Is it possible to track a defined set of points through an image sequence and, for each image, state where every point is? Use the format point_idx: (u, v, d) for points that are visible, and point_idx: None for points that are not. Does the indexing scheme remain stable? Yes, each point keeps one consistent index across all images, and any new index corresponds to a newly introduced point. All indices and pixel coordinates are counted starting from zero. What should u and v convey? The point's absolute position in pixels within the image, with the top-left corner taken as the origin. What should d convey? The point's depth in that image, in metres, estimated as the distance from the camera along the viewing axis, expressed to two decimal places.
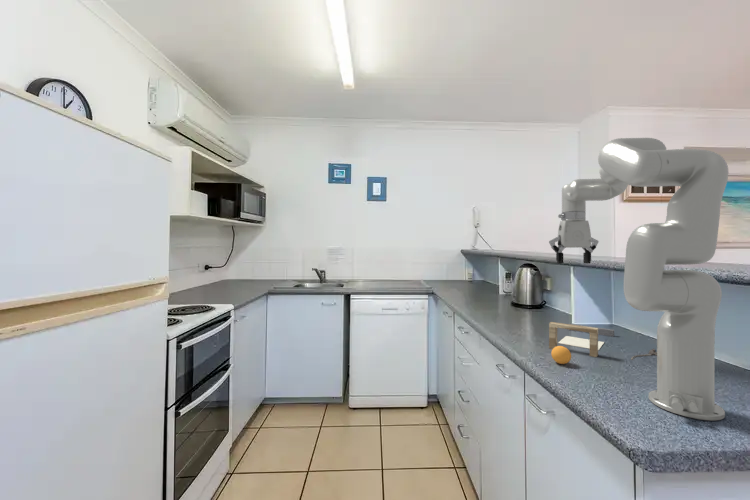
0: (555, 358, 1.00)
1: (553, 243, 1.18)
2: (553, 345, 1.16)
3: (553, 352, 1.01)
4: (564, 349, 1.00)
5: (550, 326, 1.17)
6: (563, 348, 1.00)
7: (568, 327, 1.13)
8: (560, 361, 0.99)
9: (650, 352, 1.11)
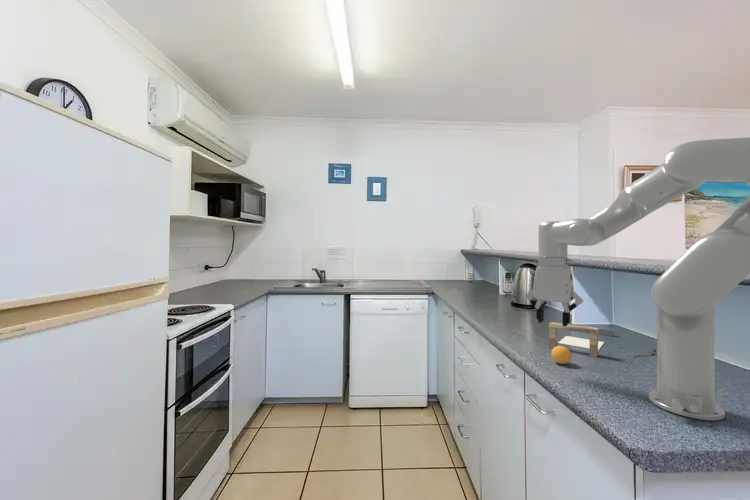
0: (555, 358, 1.00)
1: None
2: (553, 345, 1.16)
3: (553, 352, 1.01)
4: (564, 349, 1.00)
5: (550, 326, 1.17)
6: (563, 348, 1.00)
7: (568, 327, 1.13)
8: (560, 361, 0.99)
9: (650, 352, 1.11)
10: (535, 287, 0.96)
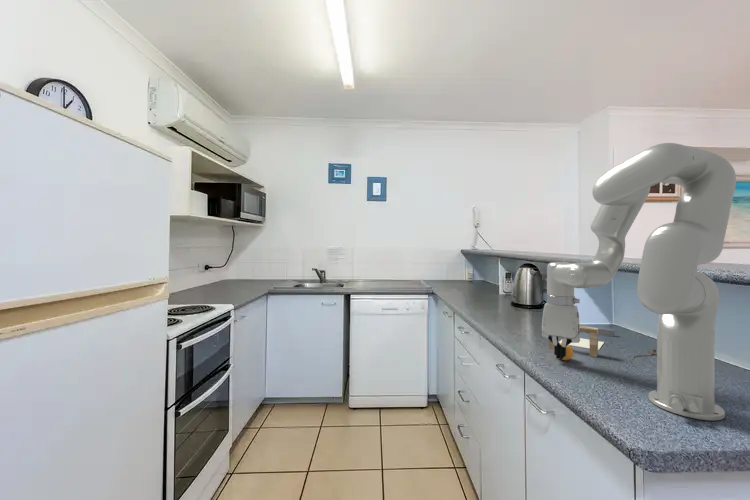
0: None
1: None
2: (553, 345, 1.16)
3: None
4: None
5: None
6: None
7: None
8: None
9: (650, 352, 1.11)
10: (544, 323, 1.03)
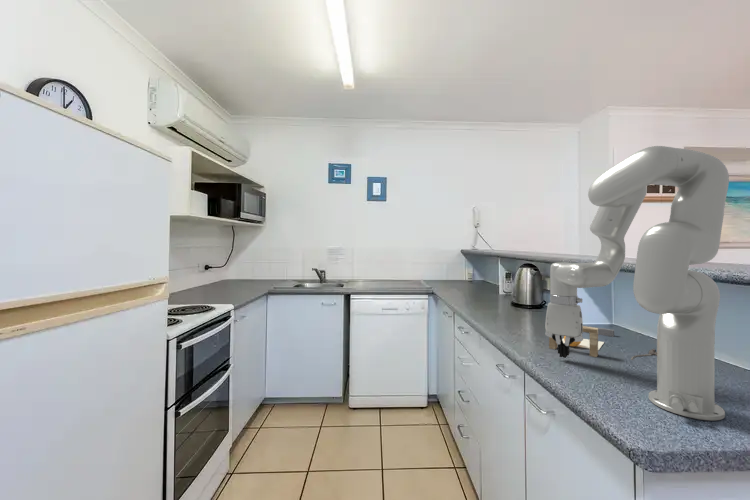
0: None
1: None
2: (553, 345, 1.16)
3: None
4: None
5: None
6: None
7: None
8: None
9: (650, 352, 1.11)
10: (547, 322, 1.05)
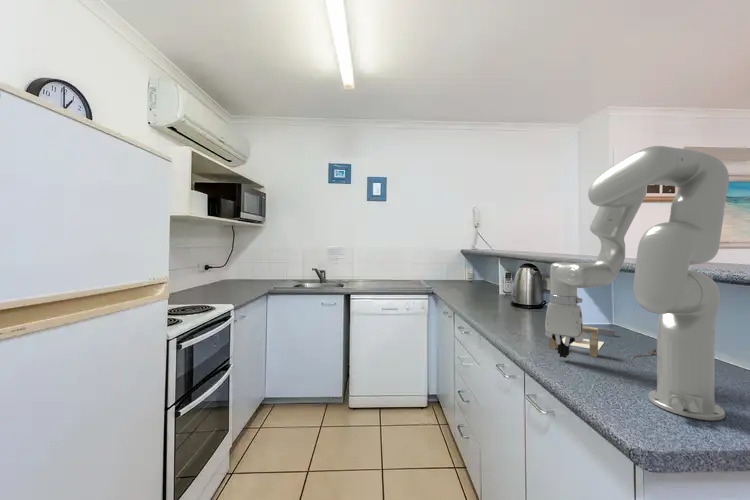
0: None
1: None
2: (553, 345, 1.16)
3: None
4: None
5: None
6: None
7: None
8: None
9: (650, 352, 1.11)
10: (547, 322, 1.05)
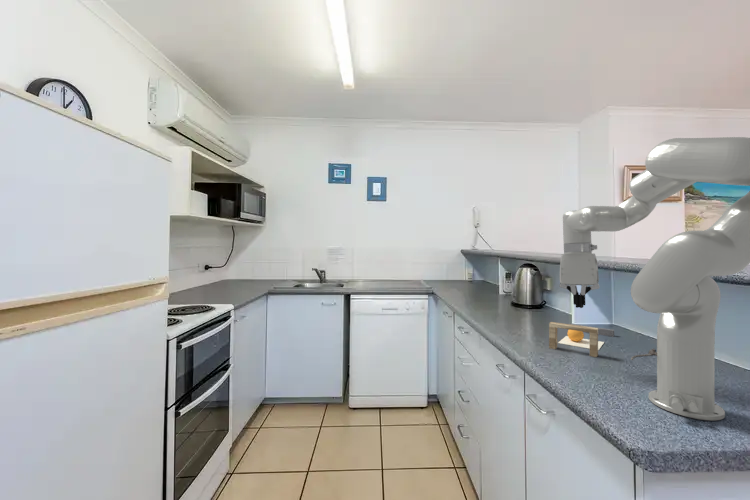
0: None
1: None
2: (553, 345, 1.16)
3: (569, 338, 1.26)
4: (577, 339, 1.23)
5: (550, 326, 1.17)
6: (576, 338, 1.23)
7: (568, 327, 1.13)
8: None
9: (650, 352, 1.11)
10: (561, 272, 1.02)
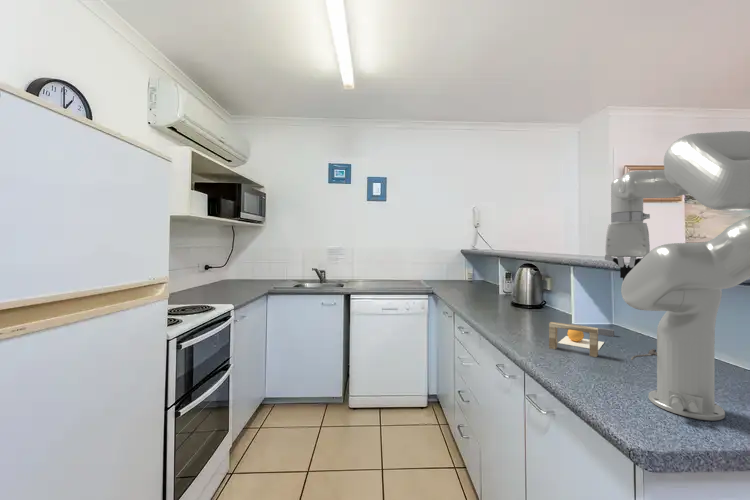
0: None
1: None
2: (553, 345, 1.16)
3: (569, 338, 1.26)
4: (577, 339, 1.23)
5: (550, 326, 1.17)
6: (576, 338, 1.23)
7: (568, 327, 1.13)
8: None
9: (650, 352, 1.11)
10: (608, 244, 0.96)
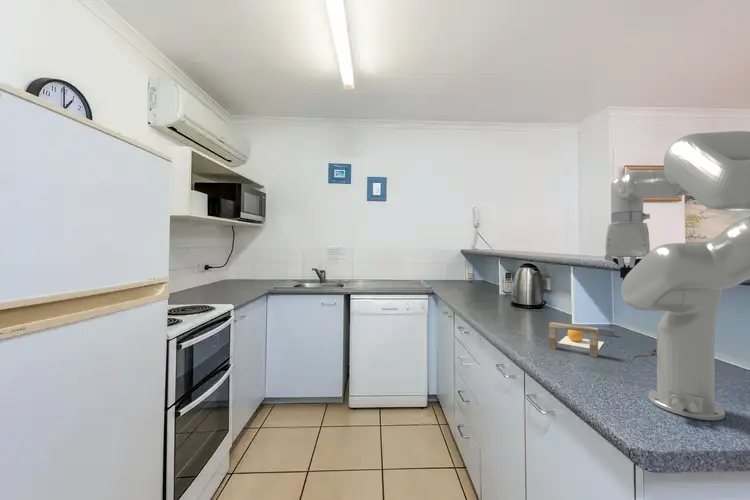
0: None
1: None
2: (553, 345, 1.16)
3: (569, 338, 1.26)
4: (577, 339, 1.23)
5: (550, 326, 1.17)
6: (576, 338, 1.23)
7: (568, 327, 1.13)
8: None
9: (650, 352, 1.11)
10: (608, 244, 0.96)
